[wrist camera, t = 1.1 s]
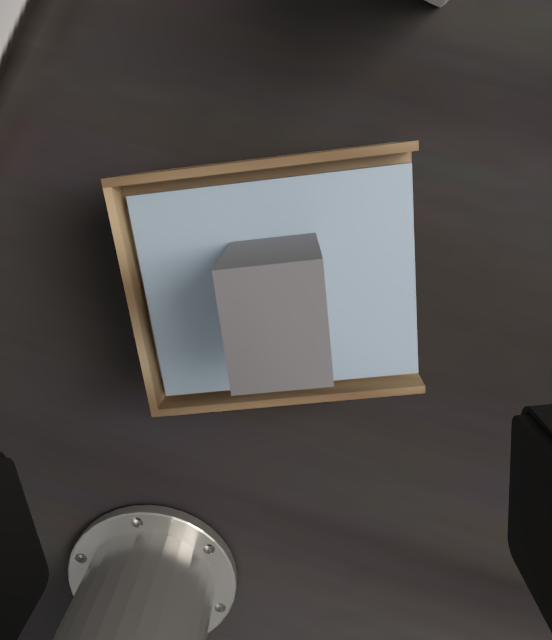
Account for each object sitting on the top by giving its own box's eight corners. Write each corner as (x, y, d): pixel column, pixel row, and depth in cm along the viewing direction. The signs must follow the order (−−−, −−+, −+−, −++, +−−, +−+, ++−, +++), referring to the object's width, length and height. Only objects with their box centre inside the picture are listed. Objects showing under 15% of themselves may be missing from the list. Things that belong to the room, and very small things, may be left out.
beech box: (396, 340, 33) (425, 392, 26) (181, 360, 34) (151, 417, 27) (387, 142, 29) (418, 140, 22) (146, 171, 30) (100, 179, 23)
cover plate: (413, 364, 27) (453, 435, 20) (170, 387, 28) (131, 462, 21) (406, 162, 24) (451, 167, 17) (132, 194, 25) (72, 211, 18)
